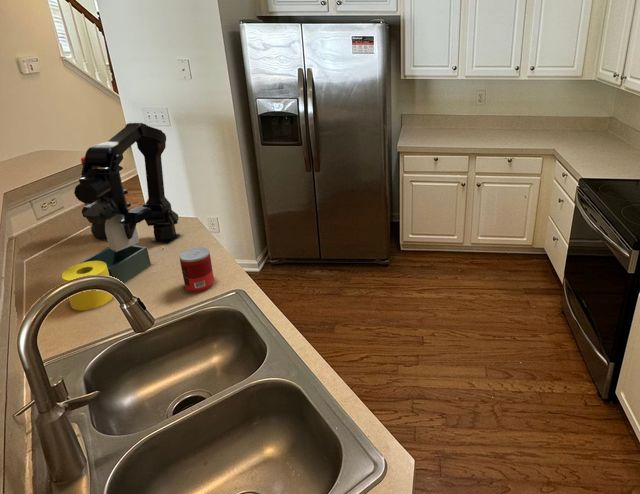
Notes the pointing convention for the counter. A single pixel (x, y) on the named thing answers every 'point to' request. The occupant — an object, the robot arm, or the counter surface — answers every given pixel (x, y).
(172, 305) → the counter surface
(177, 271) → the counter surface
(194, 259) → the canned food
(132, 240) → the light grey rectangular block
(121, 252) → the bin
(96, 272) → the tape roll
